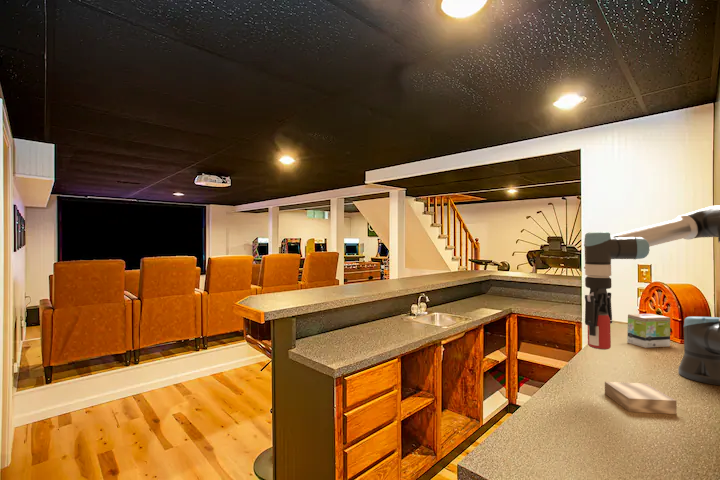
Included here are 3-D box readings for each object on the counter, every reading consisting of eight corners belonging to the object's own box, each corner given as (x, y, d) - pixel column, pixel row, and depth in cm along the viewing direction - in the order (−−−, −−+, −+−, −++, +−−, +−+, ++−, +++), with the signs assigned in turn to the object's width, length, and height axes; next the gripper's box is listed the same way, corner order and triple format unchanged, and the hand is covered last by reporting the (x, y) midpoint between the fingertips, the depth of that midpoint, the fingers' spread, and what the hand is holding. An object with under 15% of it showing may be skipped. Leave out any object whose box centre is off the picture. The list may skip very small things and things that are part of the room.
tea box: (646, 348, 170) (646, 318, 170) (626, 342, 180) (626, 313, 180) (671, 346, 173) (670, 316, 173) (650, 341, 183) (650, 312, 183)
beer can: (614, 350, 118) (613, 314, 118) (592, 349, 119) (591, 314, 119) (605, 345, 124) (604, 311, 124) (584, 344, 126) (584, 310, 126)
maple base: (646, 395, 118) (646, 383, 118) (676, 414, 105) (676, 400, 105) (604, 393, 119) (604, 381, 119) (629, 411, 106) (629, 398, 107)
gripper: (599, 274, 130) (600, 336, 130) (571, 277, 120) (573, 345, 120) (623, 275, 124) (624, 341, 123) (595, 279, 113) (597, 350, 113)
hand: (599, 343), depth 122 cm, fingers closed on beer can, 6 cm apart
